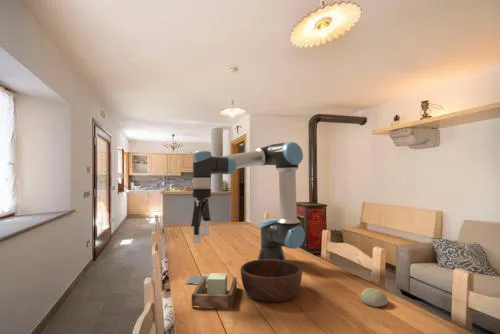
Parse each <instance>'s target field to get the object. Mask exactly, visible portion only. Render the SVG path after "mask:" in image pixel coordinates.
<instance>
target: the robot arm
mask: <svg viewBox="0 0 500 334" xmlns="http://www.w3.org/2000/svg"><path fill="white" fill-rule="evenodd" d="M303 159H304V153H303V150H302V147H301V145H299V144H298V143H297V142H294V141H287V142H281V143H280V142H279V143H274V144H269V145H267V146H263V147H260V148H259V147H258V148H256V149H255V150H251V151H245V152H239V153H234V154H227V155H221V156H213V155H212V152H211V151H209V150H196V151H194V153H193V156H192V180H191V183H192V188H193V189H192V198H195V199H196V200H194V202H193V205H194V206H193V212H192V219H191V220H192V221H191V224H190V226H191V227H193V230H192V231H193V232H192V233H193V234H192V235H193V236H192V237H193V238H192V241H193V244H201V242H202V241H201V239H202V238H201V237H209V233H210V231H209V227H210V224H209V223H210V222H211V220H212V219H211V215H210V214H211V213H210V207H209V206H210V205H209V204H210V203H209V198H211V197H212V190H211V187H212V175H232V174H235V172H236V170H237V169H242V168H247V167H253V166H259V167H262V166H275V170H277V171H278V182H279V183H278V189H279V190H278V191H279V218H277V219H276V218H275V219H265V220H261V222H260V249H259V253H258V255H257V260H259V259H280V260H286V256H285V253H284V250H283V247H284V248H287V249H292V250H293V249H294V250H295V249H298V248H300V247H301V246H302V244H303V243H304V241H305V236H306V232H305V229H304V228H303V227H302V226H301V220H299V219H298V217H297V216H298V214H297V211H298V210H297V177H296V176H297V174H296V171H297V170H298V169H299V164H301V163H302V161H303ZM201 225H202V226H201Z"/></svg>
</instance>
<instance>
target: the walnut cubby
mask: <svg viewBox="0 0 500 334" xmlns="http://www.w3.org/2000/svg"><path fill="white" fill-rule="evenodd" d="M237 279H238V278H237V276H234V277H233V278H232V282H231V285H230V287H229V291H228V294H227V293H226V294H207V293H204V292H205V290H206V288H207V283H206V277H203V278H202V279H201V281H200V283H199V284H197V286H196V288H195V289H194V291H193V292H192V294H191V307H192V306H199V307H213V308H212V309H223V308H231V309H232V308H233V305H234V299H235V295H236V292H237V287H238V286H237V284H238V283H237ZM205 287H206V288H205ZM204 289H205V290H204ZM203 291H204V292H203ZM202 293H203V294H202Z"/></svg>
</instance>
